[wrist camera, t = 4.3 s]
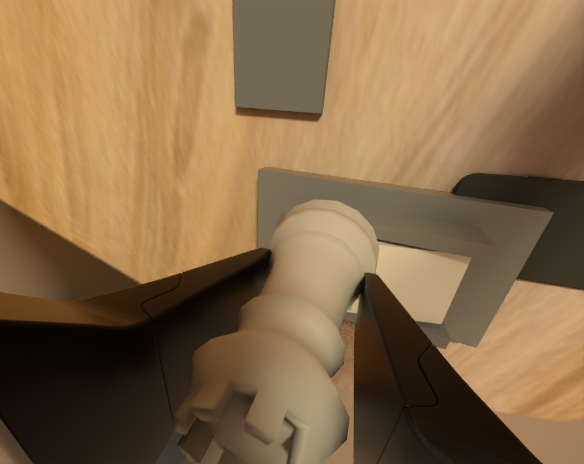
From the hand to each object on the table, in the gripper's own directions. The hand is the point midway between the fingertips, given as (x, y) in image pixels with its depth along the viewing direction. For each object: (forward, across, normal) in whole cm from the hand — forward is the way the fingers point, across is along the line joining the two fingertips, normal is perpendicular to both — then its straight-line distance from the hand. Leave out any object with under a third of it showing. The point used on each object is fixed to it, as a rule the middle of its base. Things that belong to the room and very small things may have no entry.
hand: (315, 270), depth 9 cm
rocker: (+9, -3, +5) cm, 10 cm away
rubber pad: (+12, +6, -9) cm, 17 cm away
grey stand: (+13, -3, +5) cm, 14 cm away
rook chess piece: (+2, 0, 0) cm, 2 cm away
